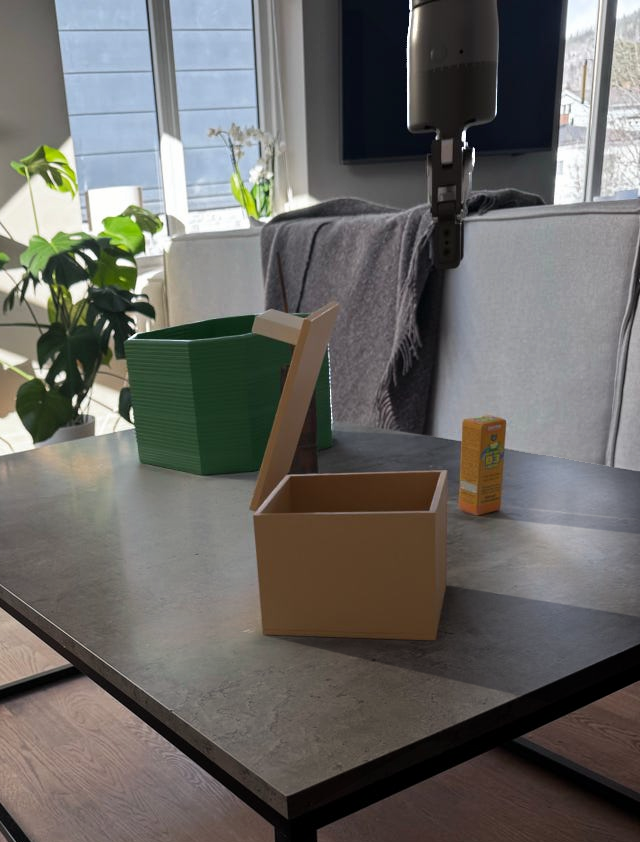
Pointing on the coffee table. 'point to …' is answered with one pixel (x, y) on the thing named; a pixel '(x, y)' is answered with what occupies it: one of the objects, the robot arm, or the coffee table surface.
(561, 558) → the coffee table surface
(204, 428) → the planter
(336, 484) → the carton
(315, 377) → the flap
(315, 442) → the butter churn
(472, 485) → the supplement box
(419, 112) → the robot arm
